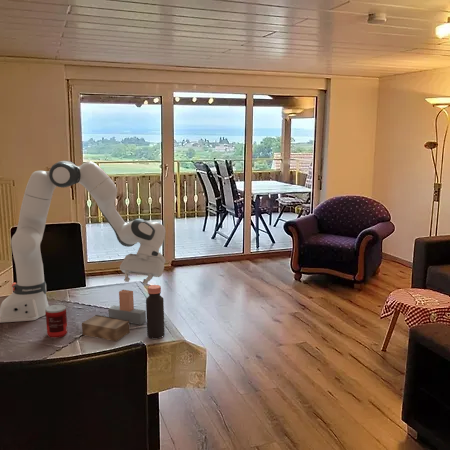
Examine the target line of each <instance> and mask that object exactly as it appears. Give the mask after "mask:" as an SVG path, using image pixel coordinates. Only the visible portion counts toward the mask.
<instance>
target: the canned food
mask: <svg viewBox="0 0 450 450" xmlns="http://www.w3.org/2000/svg"><path fill="white" fill-rule="evenodd" d="M45 312H46V315H45V322H46V324H45V325H46V334H47V336H48V337H49V338H52V339H57V338H63V337H65V336H66V335H67V334H68V320H67V319H68V318H67V307H66V305H64V304H52V305H49V306H48V307H47V308H46V309H45Z"/></svg>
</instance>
